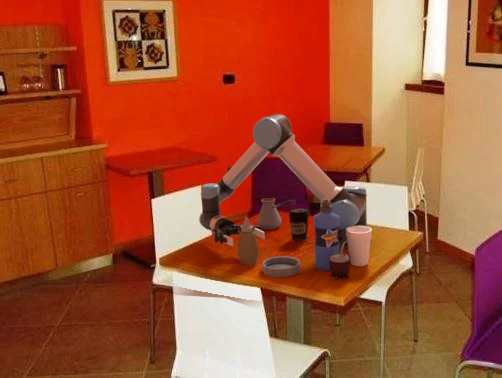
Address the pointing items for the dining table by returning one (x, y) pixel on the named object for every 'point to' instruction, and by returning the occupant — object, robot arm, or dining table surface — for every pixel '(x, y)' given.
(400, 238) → the dining table surface
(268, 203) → the coffee pot
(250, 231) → the squeeze bottle
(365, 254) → the foam cup
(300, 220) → the coffee cup
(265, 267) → the dish
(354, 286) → the dining table surface
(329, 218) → the water bottle
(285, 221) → the dining table surface
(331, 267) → the mate gourd
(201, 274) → the dining table surface
